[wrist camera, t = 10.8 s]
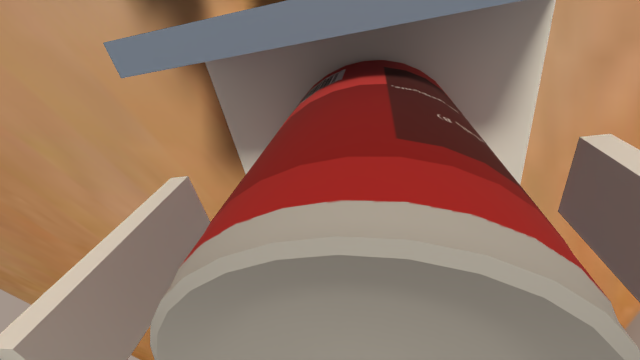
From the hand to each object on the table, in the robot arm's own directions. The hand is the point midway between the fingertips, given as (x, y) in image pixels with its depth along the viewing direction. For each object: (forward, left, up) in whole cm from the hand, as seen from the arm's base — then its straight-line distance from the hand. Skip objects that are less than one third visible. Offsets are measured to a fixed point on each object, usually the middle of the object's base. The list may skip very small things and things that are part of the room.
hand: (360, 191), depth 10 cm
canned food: (0, 0, -5) cm, 5 cm away
